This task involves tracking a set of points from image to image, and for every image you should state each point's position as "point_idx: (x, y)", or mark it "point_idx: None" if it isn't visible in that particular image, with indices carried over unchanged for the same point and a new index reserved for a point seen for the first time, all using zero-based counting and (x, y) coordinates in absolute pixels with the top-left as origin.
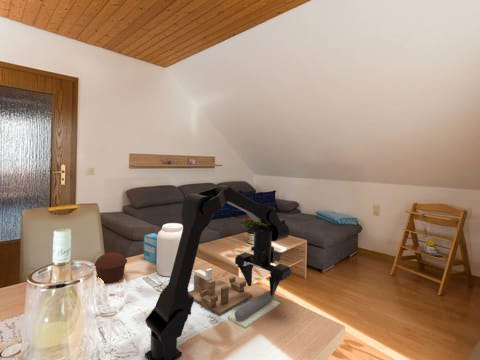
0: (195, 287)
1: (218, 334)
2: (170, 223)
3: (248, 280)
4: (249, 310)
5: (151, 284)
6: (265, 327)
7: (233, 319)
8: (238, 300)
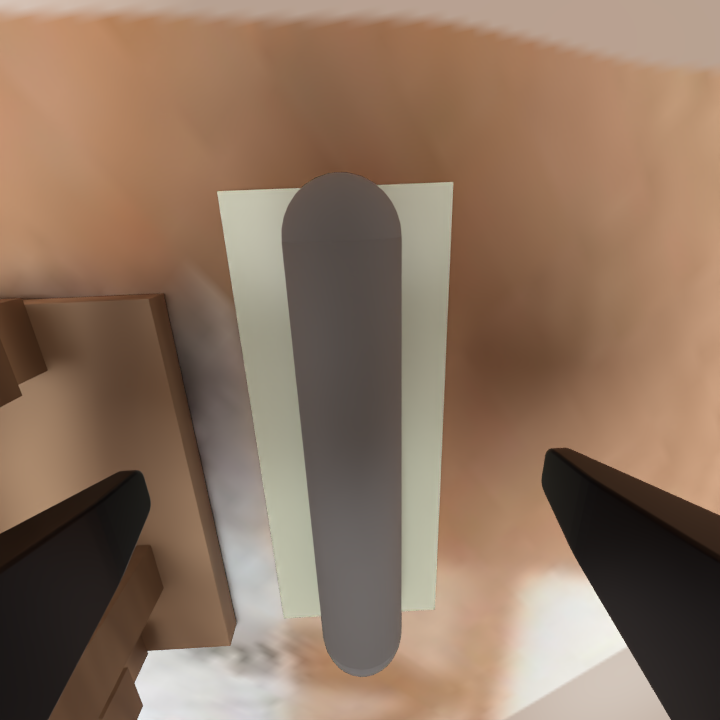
0: None
1: (362, 694)
2: None
3: (90, 616)
4: (399, 591)
5: None
6: (522, 517)
7: None
8: (168, 472)
